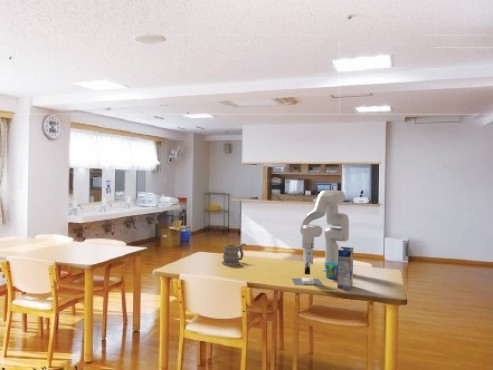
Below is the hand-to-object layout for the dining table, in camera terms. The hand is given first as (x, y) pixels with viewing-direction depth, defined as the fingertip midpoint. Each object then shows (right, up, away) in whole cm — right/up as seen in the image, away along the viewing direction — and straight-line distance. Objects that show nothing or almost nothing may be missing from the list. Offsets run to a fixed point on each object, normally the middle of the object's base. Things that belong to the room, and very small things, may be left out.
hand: (307, 274), depth 256 cm
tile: (0, -4, +2) cm, 4 cm away
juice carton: (+22, -7, -9) cm, 24 cm away
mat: (0, -6, 0) cm, 6 cm away
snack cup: (+19, -6, +12) cm, 23 cm away
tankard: (-48, -4, +54) cm, 73 cm away
